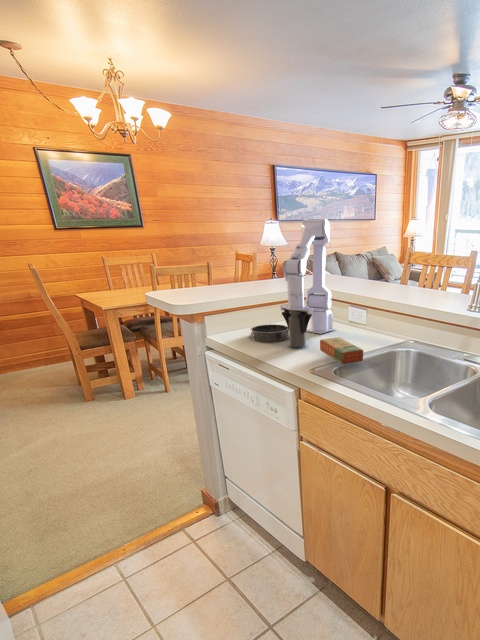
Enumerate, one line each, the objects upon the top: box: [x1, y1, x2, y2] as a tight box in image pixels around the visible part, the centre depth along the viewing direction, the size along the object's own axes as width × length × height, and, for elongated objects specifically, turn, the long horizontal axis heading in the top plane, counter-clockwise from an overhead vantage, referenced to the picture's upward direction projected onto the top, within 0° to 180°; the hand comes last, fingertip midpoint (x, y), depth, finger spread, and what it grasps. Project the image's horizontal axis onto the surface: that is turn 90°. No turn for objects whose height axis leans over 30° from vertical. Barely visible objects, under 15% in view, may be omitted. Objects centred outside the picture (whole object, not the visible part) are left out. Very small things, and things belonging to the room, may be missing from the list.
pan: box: [250, 324, 290, 344], centre depth 165 cm, size 15×15×4 cm
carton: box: [319, 336, 364, 365], centre depth 140 cm, size 8×16×4 cm, turn 30°
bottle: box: [289, 310, 307, 348], centre depth 152 cm, size 6×6×15 cm
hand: (297, 331), depth 153 cm, fingers closed on bottle, 6 cm apart
